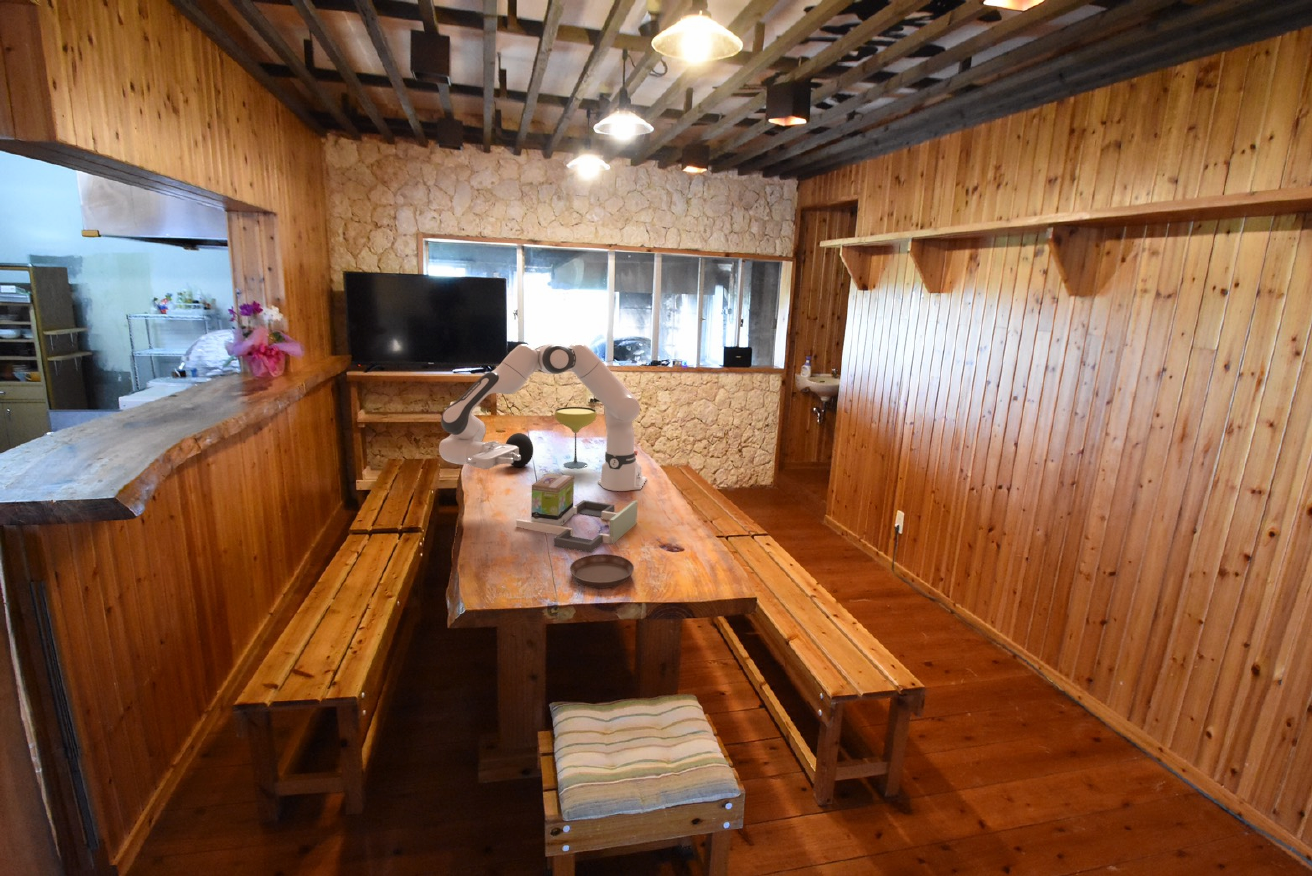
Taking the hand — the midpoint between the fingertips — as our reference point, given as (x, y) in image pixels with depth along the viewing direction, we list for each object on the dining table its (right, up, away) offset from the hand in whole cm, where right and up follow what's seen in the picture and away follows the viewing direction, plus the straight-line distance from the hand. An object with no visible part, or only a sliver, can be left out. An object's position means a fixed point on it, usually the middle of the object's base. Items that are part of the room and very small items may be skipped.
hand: (516, 459), depth 217 cm
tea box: (+13, -21, 0) cm, 25 cm away
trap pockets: (+25, -22, -5) cm, 34 cm away
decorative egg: (-13, -6, +64) cm, 65 cm away
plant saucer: (+33, -32, -40) cm, 60 cm away
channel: (+21, -22, -3) cm, 31 cm away
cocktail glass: (+12, -5, +69) cm, 70 cm away
